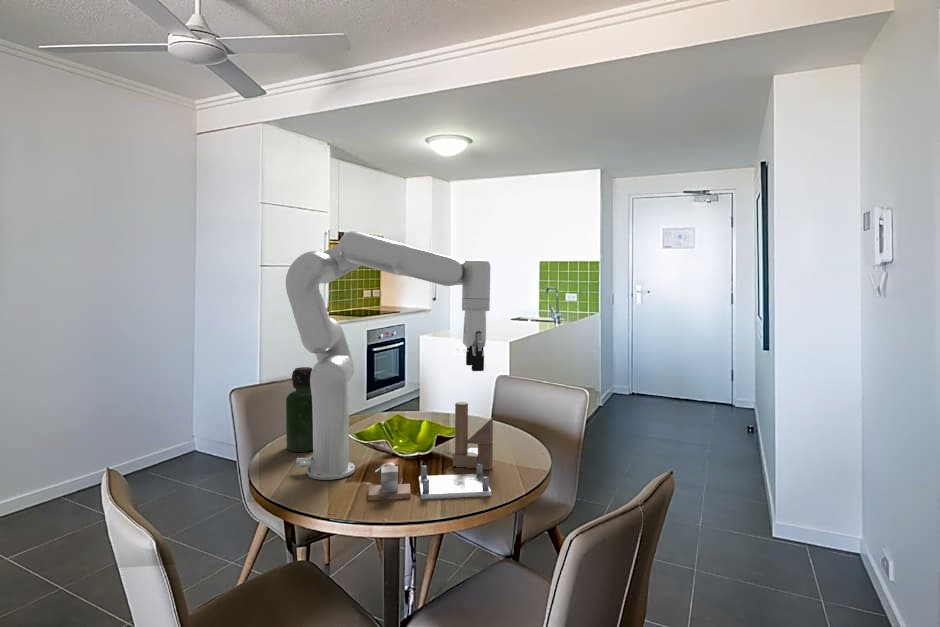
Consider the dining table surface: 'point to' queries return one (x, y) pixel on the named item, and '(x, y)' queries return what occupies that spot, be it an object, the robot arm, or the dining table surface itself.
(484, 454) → the wooden block
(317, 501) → the dining table surface
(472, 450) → the butcher knife
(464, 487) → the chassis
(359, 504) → the dining table surface
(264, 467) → the dining table surface
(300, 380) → the green bottle
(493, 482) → the dining table surface
